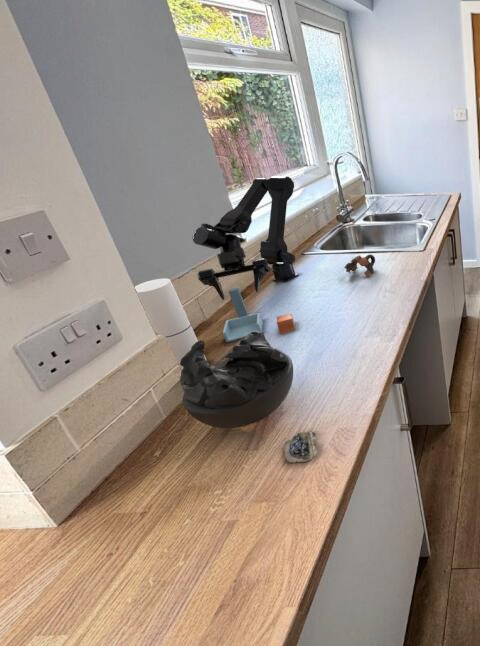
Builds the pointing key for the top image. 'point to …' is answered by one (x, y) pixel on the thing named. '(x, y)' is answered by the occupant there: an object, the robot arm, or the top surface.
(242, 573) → the top surface
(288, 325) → the block
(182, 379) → the bowl of black rocks
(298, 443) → the geode slice
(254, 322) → the pale blue channel tray
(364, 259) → the toy animal figurine
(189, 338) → the cylindrical container
